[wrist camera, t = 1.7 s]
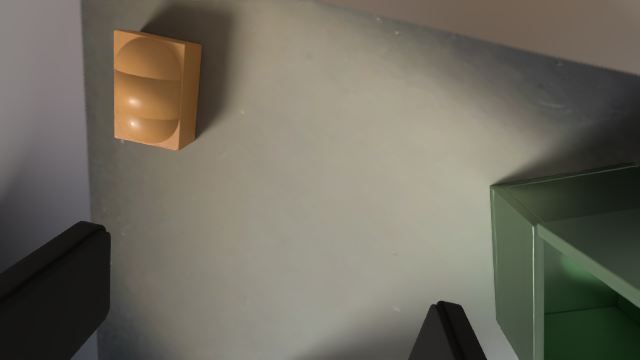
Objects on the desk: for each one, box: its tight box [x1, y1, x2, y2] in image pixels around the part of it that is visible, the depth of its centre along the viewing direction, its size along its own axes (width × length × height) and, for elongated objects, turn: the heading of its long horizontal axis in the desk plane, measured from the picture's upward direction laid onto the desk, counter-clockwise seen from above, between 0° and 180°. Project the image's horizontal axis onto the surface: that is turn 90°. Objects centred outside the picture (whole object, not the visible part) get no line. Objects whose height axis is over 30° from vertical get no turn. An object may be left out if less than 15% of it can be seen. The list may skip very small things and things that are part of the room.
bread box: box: [490, 163, 640, 360], centre depth 26 cm, size 13×10×7 cm
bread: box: [114, 29, 202, 151], centre depth 24 cm, size 7×5×5 cm, turn 168°
